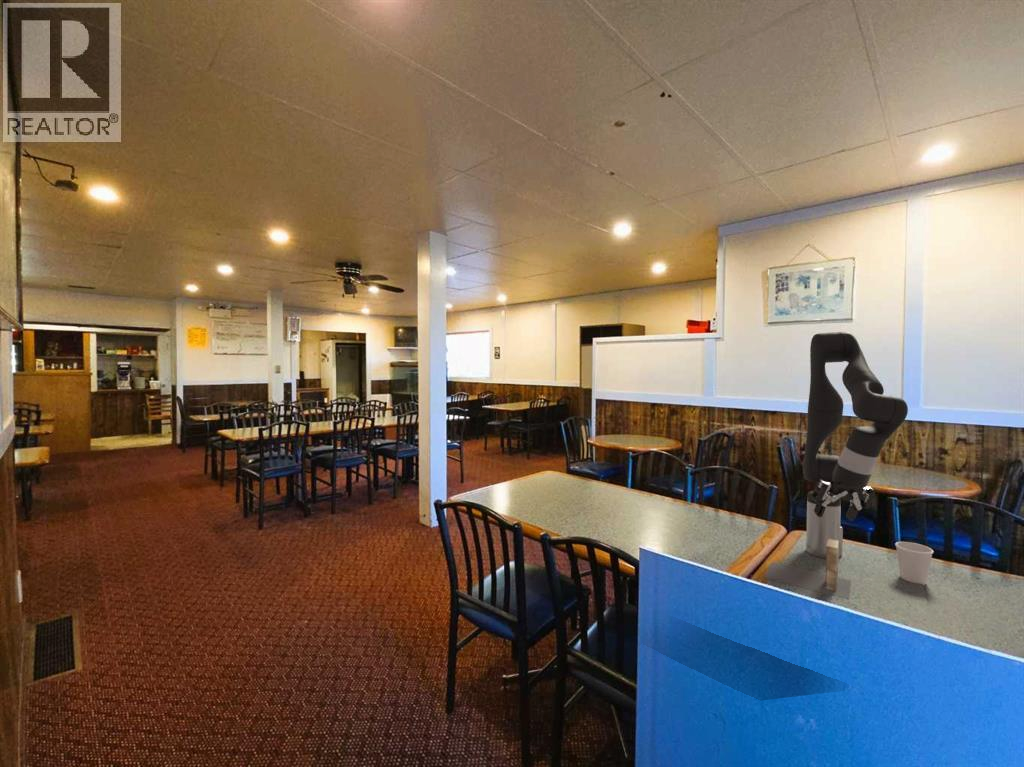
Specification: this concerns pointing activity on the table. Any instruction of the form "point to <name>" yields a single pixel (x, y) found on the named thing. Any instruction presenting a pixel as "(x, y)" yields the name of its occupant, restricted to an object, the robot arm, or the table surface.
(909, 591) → the table surface
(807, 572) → the rubber mat
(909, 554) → the dixie cup
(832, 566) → the maple block
